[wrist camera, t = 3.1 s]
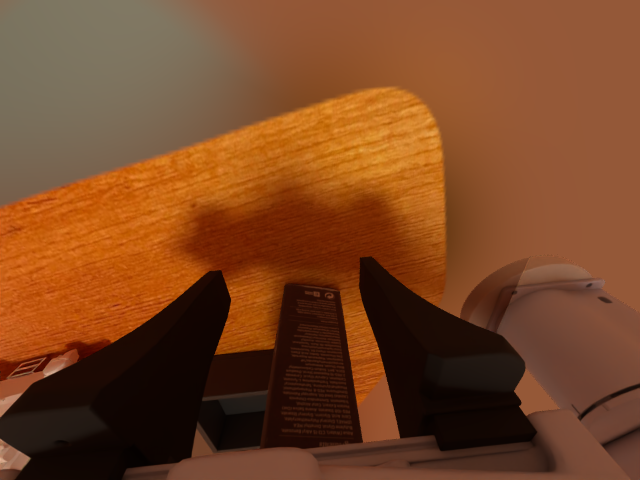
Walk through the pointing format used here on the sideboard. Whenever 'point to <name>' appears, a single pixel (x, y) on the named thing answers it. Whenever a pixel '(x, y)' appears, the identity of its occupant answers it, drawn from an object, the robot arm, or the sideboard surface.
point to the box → (311, 374)
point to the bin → (235, 401)
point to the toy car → (10, 390)
